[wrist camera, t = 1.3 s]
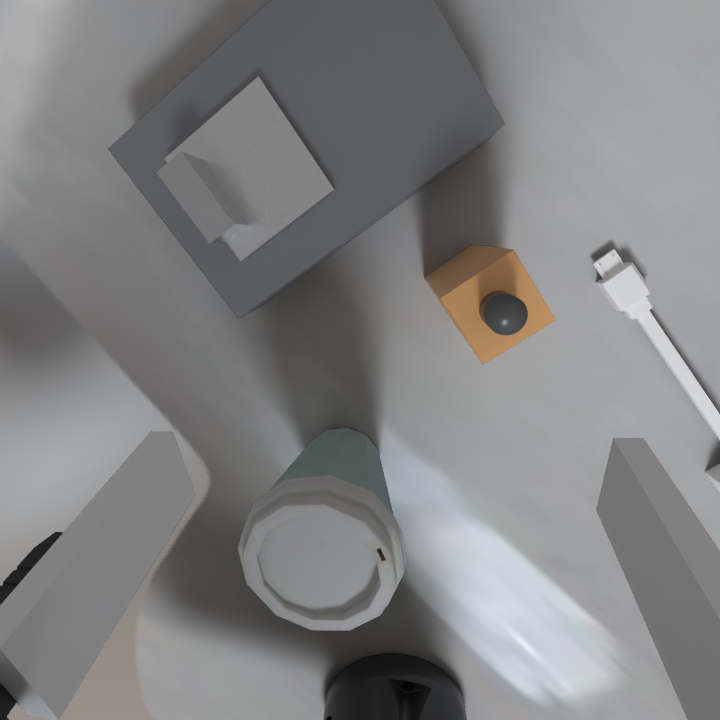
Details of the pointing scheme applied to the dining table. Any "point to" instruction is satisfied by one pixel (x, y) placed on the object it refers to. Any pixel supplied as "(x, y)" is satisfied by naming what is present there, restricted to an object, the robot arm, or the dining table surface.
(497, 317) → the plug
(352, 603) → the disposable coffee cup
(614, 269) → the charging cable
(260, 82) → the shutter
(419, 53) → the socket box
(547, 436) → the dining table surface
